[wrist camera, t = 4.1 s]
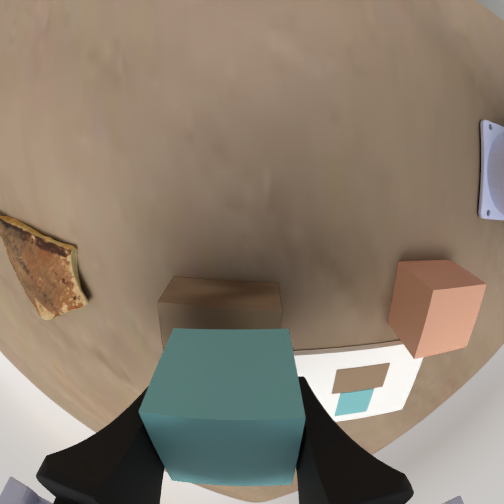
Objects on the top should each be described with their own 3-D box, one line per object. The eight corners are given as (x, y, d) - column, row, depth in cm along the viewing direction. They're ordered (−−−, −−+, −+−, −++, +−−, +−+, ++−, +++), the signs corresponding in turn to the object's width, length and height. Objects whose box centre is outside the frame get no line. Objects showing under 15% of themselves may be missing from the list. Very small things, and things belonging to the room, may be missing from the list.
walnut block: (277, 281, 19) (282, 310, 15) (268, 361, 21) (271, 397, 18) (174, 275, 19) (157, 301, 15) (180, 355, 21) (169, 389, 18)
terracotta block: (448, 259, 19) (486, 283, 14) (435, 314, 20) (466, 346, 15) (397, 261, 19) (433, 290, 14) (386, 321, 20) (413, 359, 15)
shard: (2, 210, 18) (-11, 214, 16) (49, 167, 17) (35, 169, 15) (50, 315, 21) (40, 325, 19) (105, 292, 20) (94, 303, 18)
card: (426, 335, 21) (429, 340, 20) (400, 405, 23) (402, 409, 23) (292, 350, 21) (293, 356, 20) (286, 421, 23) (287, 427, 23)
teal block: (288, 328, 12) (305, 417, 7) (283, 405, 13) (291, 484, 9) (173, 328, 12) (138, 411, 7) (189, 403, 13) (172, 480, 9)
